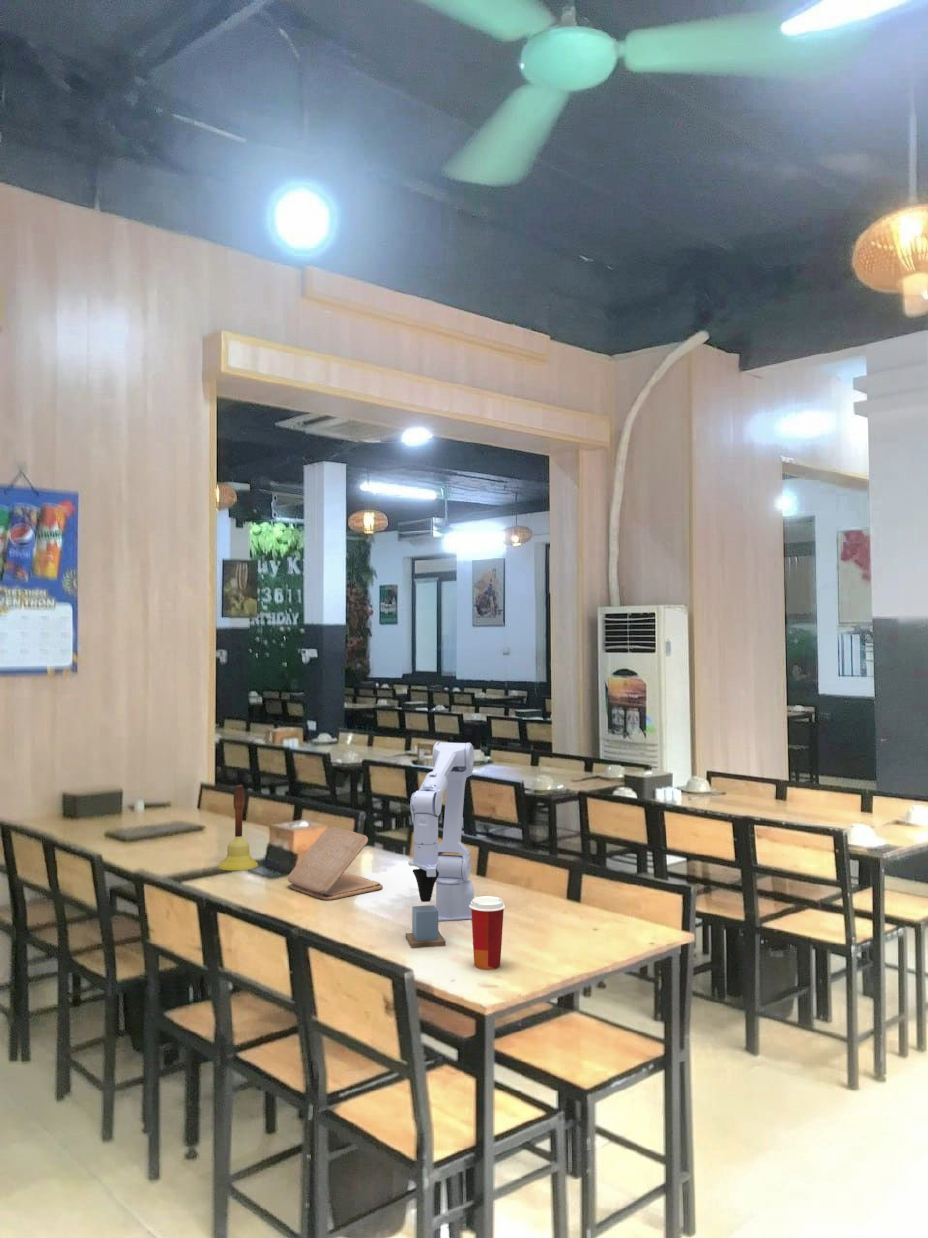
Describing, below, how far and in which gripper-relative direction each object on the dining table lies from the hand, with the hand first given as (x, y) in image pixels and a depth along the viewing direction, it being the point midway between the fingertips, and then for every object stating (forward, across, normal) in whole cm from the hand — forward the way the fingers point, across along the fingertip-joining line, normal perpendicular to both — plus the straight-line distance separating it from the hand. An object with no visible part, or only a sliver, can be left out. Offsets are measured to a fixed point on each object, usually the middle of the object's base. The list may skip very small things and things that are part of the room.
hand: (425, 901), depth 224 cm
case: (+10, -53, -16) cm, 56 cm away
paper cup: (+10, +19, +10) cm, 24 cm away
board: (+9, 0, 0) cm, 9 cm away
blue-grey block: (+8, 0, 0) cm, 8 cm away
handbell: (+10, -87, -43) cm, 98 cm away
